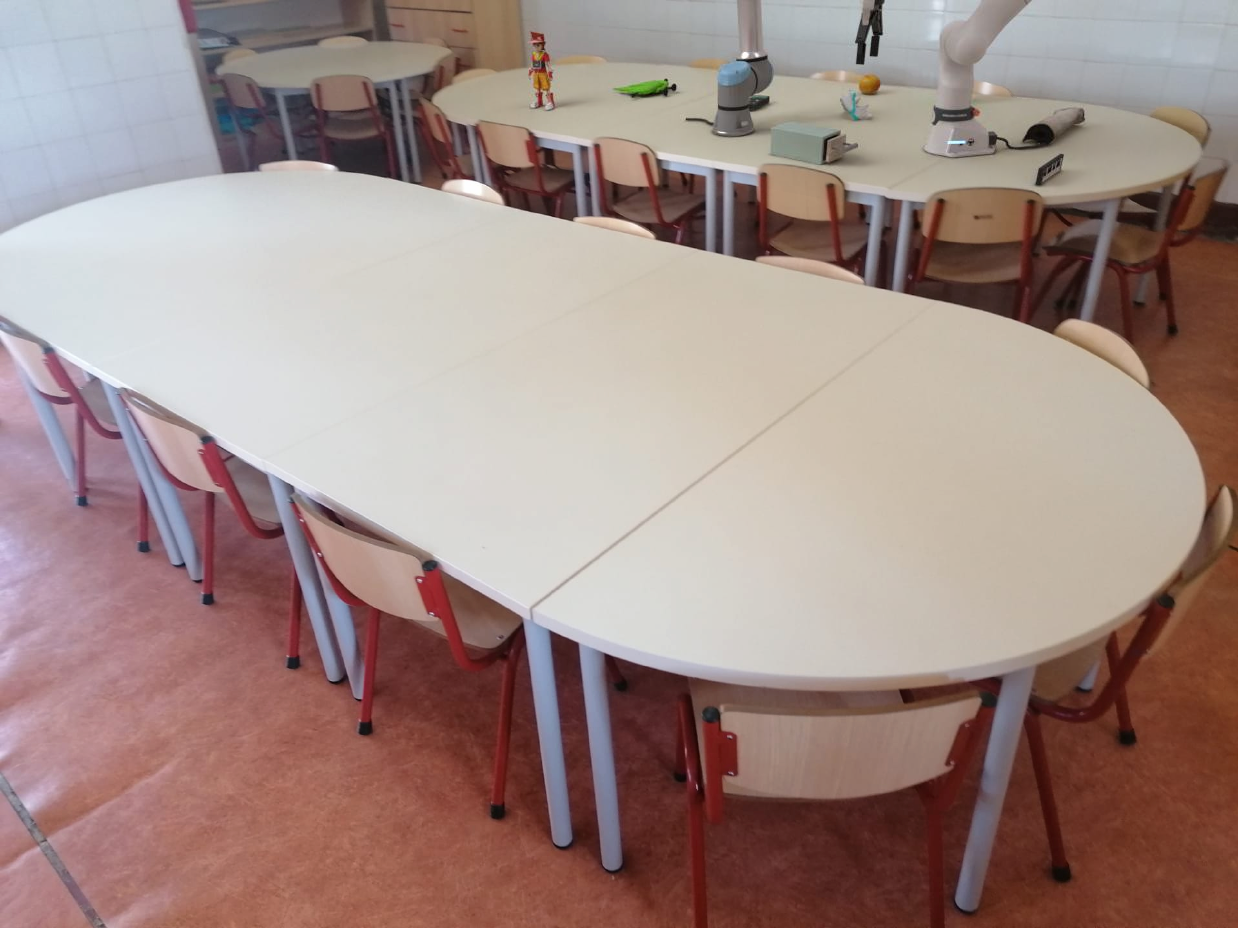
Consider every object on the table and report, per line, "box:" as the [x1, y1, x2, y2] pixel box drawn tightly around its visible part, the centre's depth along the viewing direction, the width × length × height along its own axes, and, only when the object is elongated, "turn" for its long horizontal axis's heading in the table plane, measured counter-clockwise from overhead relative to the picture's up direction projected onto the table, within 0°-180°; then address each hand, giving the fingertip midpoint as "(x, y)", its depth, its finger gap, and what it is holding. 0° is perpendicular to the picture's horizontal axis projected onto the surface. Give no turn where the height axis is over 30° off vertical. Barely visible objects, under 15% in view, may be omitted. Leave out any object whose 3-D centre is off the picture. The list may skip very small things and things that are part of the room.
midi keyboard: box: [1035, 153, 1065, 186], centre depth 273 cm, size 18×1×5 cm, turn 138°
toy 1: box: [527, 31, 556, 111], centre depth 374 cm, size 12×9×30 cm
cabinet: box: [770, 120, 842, 165], centre depth 304 cm, size 21×11×9 cm, turn 45°
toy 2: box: [612, 78, 677, 99], centre depth 396 cm, size 28×5×30 cm
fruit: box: [858, 74, 882, 95], centre depth 372 cm, size 8×8×8 cm
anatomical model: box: [839, 89, 874, 121], centre depth 343 cm, size 15×10×10 cm
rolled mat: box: [1021, 106, 1086, 146], centre depth 311 cm, size 30×9×10 cm
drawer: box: [823, 133, 859, 163], centre depth 301 cm, size 25×9×7 cm, turn 45°
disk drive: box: [749, 94, 771, 111], centre depth 365 cm, size 10×3×15 cm
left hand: (866, 60), depth 307 cm, fingers open, 13 cm apart
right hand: (864, 22), depth 281 cm, fingers open, 8 cm apart
